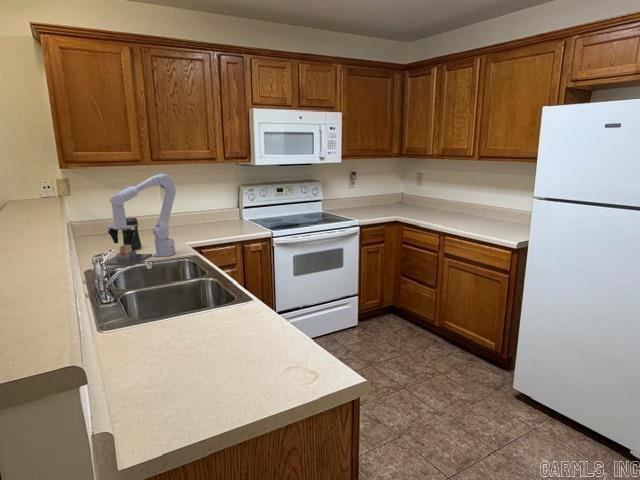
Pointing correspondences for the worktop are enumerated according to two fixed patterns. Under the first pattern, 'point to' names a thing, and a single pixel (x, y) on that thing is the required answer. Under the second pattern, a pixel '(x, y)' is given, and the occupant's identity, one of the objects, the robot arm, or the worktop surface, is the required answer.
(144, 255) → the jack base
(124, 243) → the coffee jar
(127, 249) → the column
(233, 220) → the worktop surface
